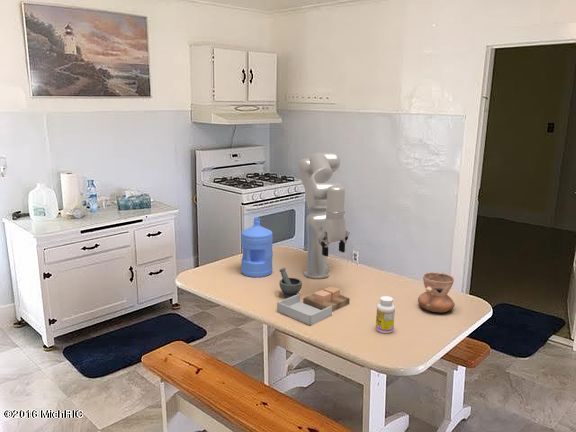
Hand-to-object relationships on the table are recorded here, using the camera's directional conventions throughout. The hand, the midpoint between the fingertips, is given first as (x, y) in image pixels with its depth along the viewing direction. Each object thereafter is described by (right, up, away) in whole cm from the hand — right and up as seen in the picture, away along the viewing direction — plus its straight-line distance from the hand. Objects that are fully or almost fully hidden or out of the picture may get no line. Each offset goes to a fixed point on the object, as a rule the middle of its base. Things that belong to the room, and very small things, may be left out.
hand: (333, 253), depth 211 cm
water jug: (-35, -12, +34) cm, 50 cm away
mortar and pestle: (-19, -19, +5) cm, 28 cm away
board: (-3, -21, -3) cm, 22 cm away
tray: (-13, -23, -13) cm, 30 cm away
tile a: (-1, -18, -1) cm, 18 cm away
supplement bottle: (+17, -27, -26) cm, 41 cm away
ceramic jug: (+43, -23, -5) cm, 49 cm away
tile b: (-5, -19, -5) cm, 20 cm away
